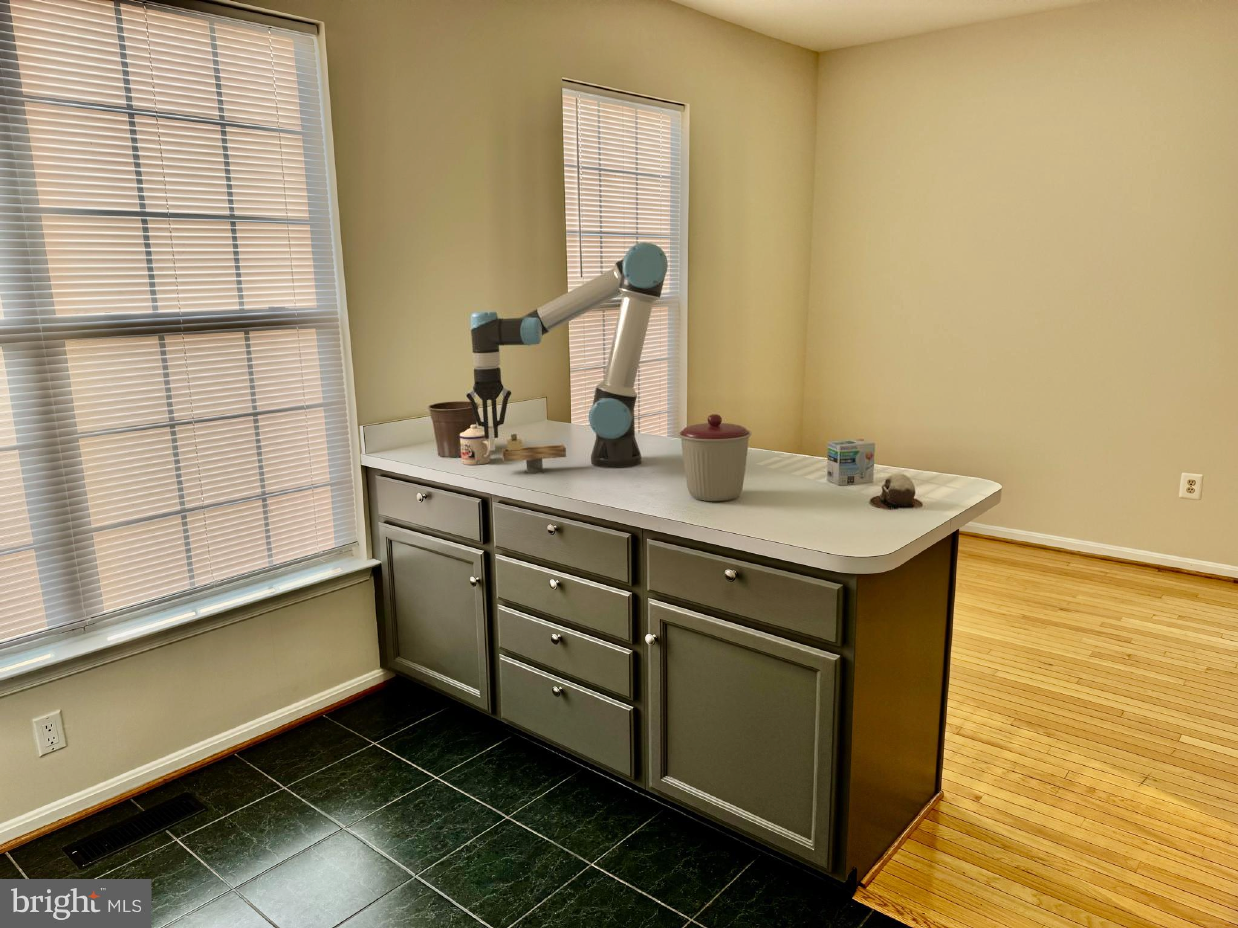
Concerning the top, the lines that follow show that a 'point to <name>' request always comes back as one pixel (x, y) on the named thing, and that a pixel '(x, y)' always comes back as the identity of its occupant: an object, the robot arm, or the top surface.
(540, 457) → the beam
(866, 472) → the light bulb box
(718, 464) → the canister
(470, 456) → the teacup with lid
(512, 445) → the rider
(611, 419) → the robot arm
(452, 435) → the plant pot
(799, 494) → the top surface
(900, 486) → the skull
